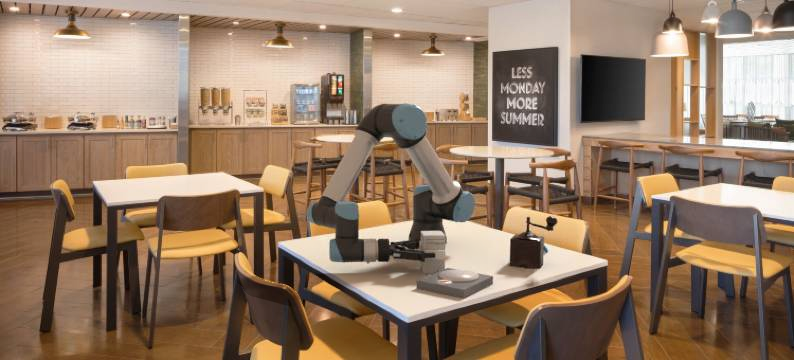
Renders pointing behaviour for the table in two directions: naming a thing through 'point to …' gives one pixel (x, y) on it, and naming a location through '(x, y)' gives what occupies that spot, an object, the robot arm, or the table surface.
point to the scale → (455, 282)
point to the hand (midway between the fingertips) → (441, 249)
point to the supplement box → (432, 242)
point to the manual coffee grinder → (529, 246)
